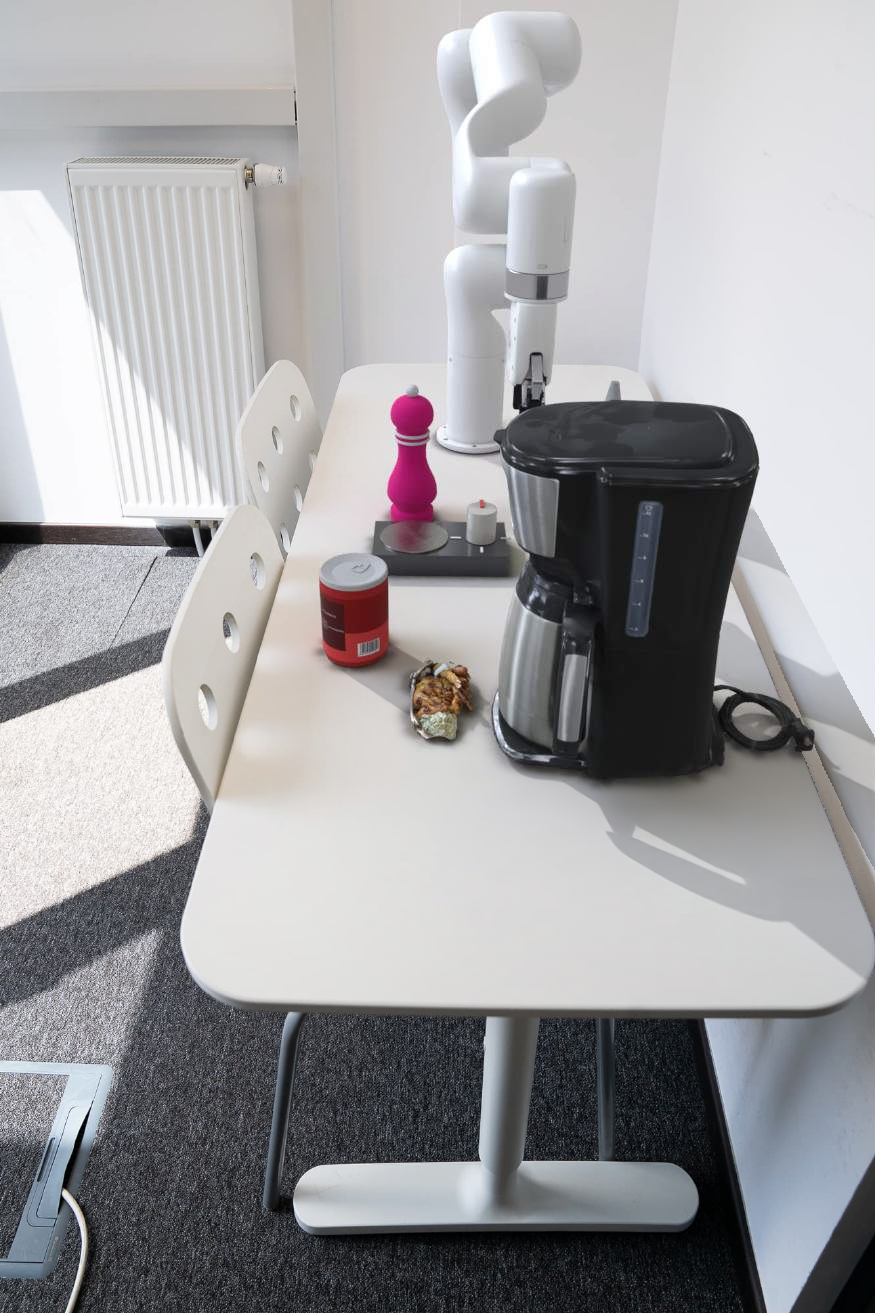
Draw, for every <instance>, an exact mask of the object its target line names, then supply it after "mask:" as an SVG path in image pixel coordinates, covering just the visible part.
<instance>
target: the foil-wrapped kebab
mask: <svg viewBox="0 0 875 1313" xmlns="http://www.w3.org/2000/svg"><path fill="white" fill-rule="evenodd" d="M449 664H452V665H454V664H455V663H454V662H452V661H449ZM449 664H448V663H446V662H444V663H440V662H434V661H433V660H431V659H429V658H428V657H427V658H426V659H424V660H423V663H422V664H421V665H419V668H418V669H417V671H414V672H412V673H410V675H409V680H410V682H408V683H409V684H408V688H410V693H409V696H410V698H409V700H410V710H409V715H410V721H411V722H412V728H413V729H414V730H415V732H416V733H419V734H420V736H421V737H422V738H425V739H431V738H435V737H443V738H446V739H449V740H456V736H457V730H458V719H457V715H459V714H460V713H462V711H463V707H464V704H465V706H466V707H467V708H468V709H469V711H470V712H473V709H474V707H473V706H472V701H473V696H472V692H471V689H470V680H471V679H472V677H471V675H470V673H469V669H468V667H466V666H463V665H462V664H457V665H455V666H454V667H451V666H450V665H449ZM426 669H429V672H428V671H426V672H425V670H426ZM423 672H425V674H424V675H423V676H421V674H422V673H423Z"/></svg>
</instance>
